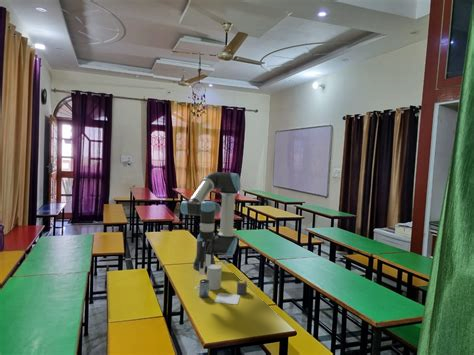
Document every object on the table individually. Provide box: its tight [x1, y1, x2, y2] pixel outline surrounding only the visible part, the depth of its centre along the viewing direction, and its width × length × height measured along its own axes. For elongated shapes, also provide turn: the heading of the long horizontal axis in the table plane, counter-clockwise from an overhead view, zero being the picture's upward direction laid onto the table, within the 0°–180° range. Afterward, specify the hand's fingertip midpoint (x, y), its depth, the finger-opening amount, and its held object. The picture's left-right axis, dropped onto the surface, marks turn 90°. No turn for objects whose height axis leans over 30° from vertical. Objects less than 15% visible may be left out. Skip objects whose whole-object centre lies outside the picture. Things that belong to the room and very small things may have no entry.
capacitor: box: [198, 278, 210, 299], centre depth 181 cm, size 5×5×8 cm
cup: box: [206, 264, 223, 291], centre depth 194 cm, size 8×8×12 cm
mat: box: [213, 292, 242, 306], centre depth 179 cm, size 12×12×1 cm
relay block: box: [236, 280, 248, 296], centre depth 188 cm, size 5×5×6 cm
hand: (204, 270), depth 180 cm, fingers open, 13 cm apart
